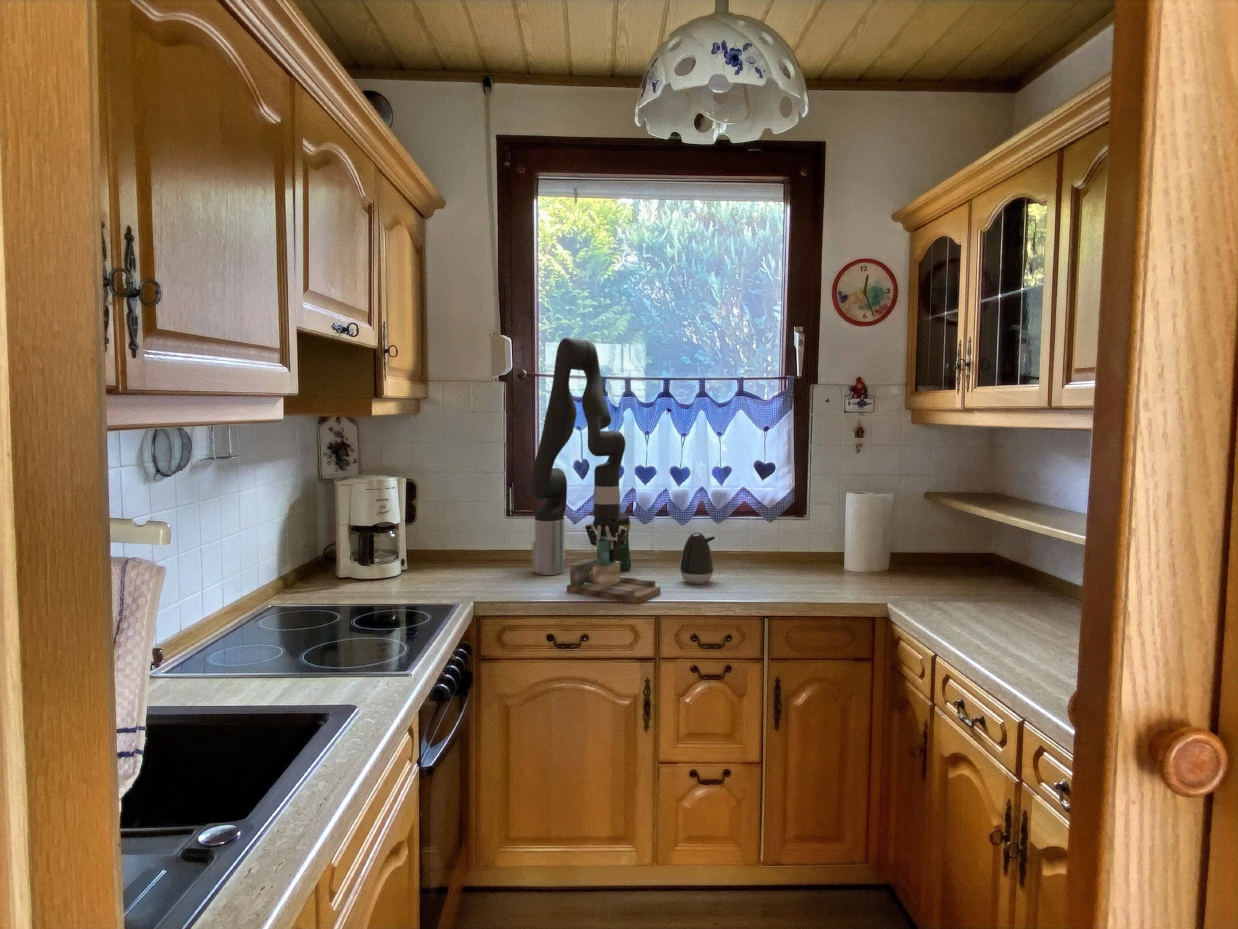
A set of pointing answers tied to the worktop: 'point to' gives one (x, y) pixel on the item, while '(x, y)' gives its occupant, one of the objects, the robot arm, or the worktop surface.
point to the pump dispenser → (697, 559)
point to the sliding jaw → (605, 566)
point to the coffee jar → (624, 545)
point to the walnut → (590, 576)
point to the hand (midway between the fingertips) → (606, 560)
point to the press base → (621, 591)
